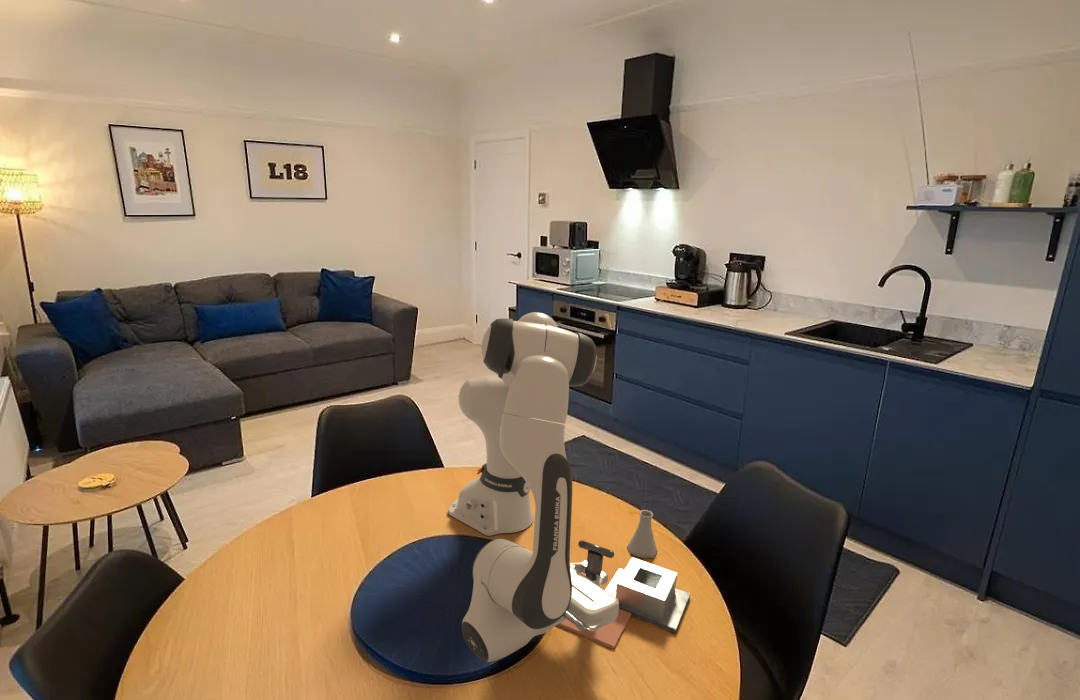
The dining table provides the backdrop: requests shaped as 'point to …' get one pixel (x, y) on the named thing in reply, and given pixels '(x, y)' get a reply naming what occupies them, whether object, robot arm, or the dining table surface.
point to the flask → (643, 537)
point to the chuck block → (649, 594)
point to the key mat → (603, 630)
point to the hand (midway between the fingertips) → (596, 570)
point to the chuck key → (594, 558)
